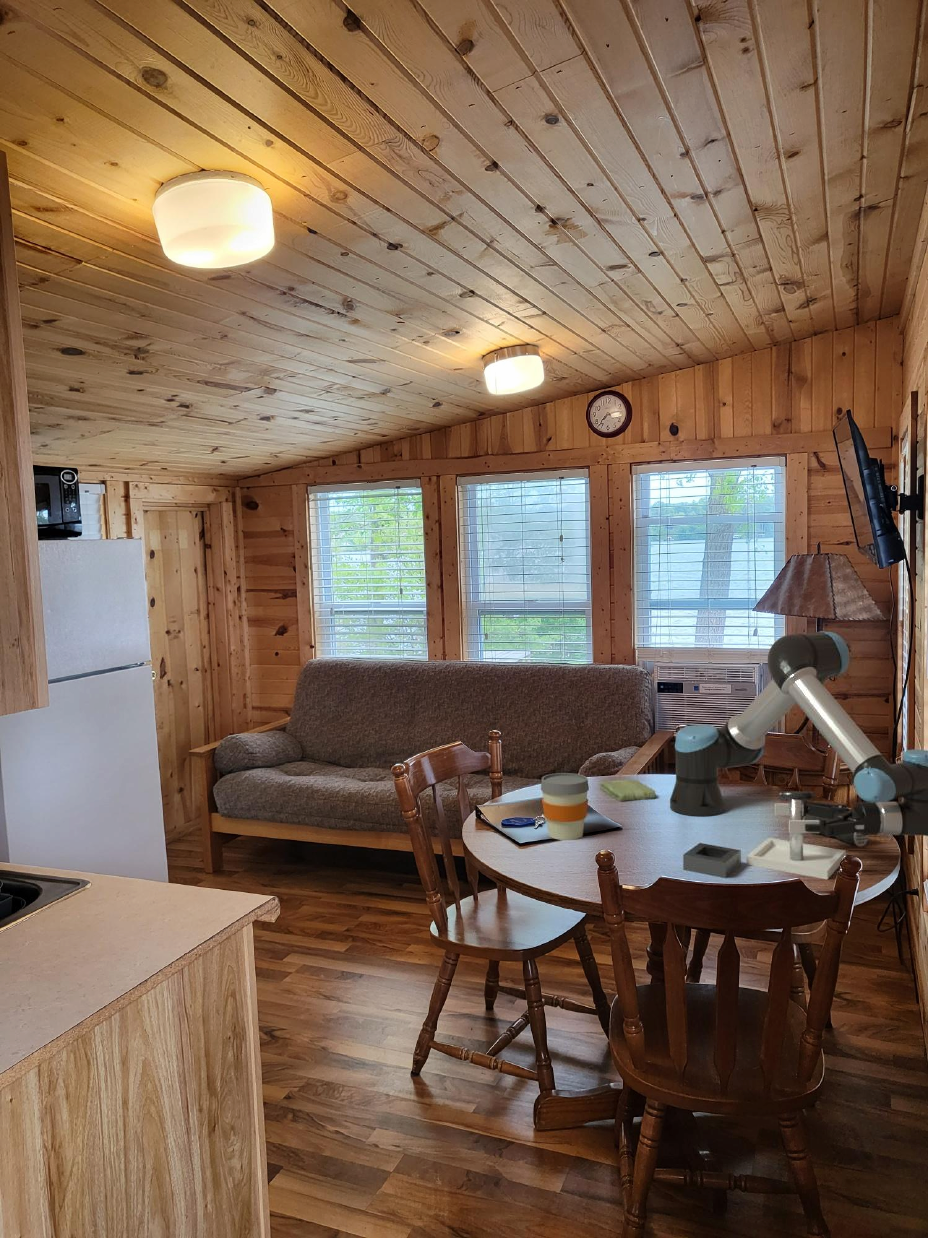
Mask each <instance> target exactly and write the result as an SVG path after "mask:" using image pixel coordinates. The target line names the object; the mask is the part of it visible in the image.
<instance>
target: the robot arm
mask: <svg viewBox="0 0 928 1238" xmlns="http://www.w3.org/2000/svg"><path fill="white" fill-rule="evenodd" d="M849 654H850V650H849V647H848V644H847V643H846V641H845V640H844V639H843V638H842V637H841V636H840V635H839V634H837V633H835V632H832V631H822V630H821V631H816V632H806V633H795V634H791V633H790V634H786V635H783V636H781V637H779V638H777V640H776V641H775V642H773V644H772V645H771V647H770V648H769V652H768V654H767V666H768V672H769V674H770V676H771V680H770V682H768V683H767V685H766V686H764V689H763V690H762V691H761V692H760V693H759V694H758V695H757V696H756V697H755V698H754V700H753V701H752V702H751V703H750V704H749V705H748V706H747V707H746V708H745V710H744V711H743V712H742V713H741V714H738V715H737V714H736V715H733V716H731V717H730V718H729V720H727V721H726V723H725V724H724V725H723V726H721V727H719V728H717V727H716V726H714V725H711V724H709V725H708V724H699V725H697V724H694V725H689V726H685V727H683V728H680V729H679V730H678V731H677V732H676V734H675V743H674V749H675V751H674V752H675V784H674V786H673V790H672V793H671V795H670V799H669V808H670V810H671V811H673V812H675V813H677V814H682V815H687V816H694V817H695V816H696V817H709V816H715V815H716V816H717V815H720V814H723V812H725V808H726V807H725V799H724V796H723V795H722V791H721V788H720V786H719V780H718V779H719V770H724V769H725V770H726V769H731V768H736V767H746V766H749V765H752V764H754V763H756V762H758V761H759V760H760V759H761V757H762V756H763V754H764V752H765V749H764V747H765V745H766V743H765V742H766V735H767V734H768V733H769V732H770V731H771V730H772V729H773V728H774V726H775V725H777V724H778V722H779V721H780V720H781V719H782V718H783V717H784V716H785V715H786V714H787V713H788V712H789V711H790V710H791V709H792V707H794V705H796V704H797V705H798V706H799V708H800V709H801V710H802V711H803V713H804V714H805V715H806V716H807V718H808V720H810V721H811V723H812V724H813V725H814V726H815V728H816V729H817V730H818V731H819V733H820V734H821V736H822V737H823V738H824V739H825V741H827V743H828V744H829V745H830V746H831V748H832V749H833V750H834V751H835V752H836V754H837V755H838V757H840V759H841V760H842V761H843V763H844V764H845V765H846V766H847V767H848V769H849V770H850V771H851V773H852V774H853V775H854V778H853V787H854V789H855V793H856V794H857V796H858V797H859V798H860V799H861V800H863V801H859V802H857V803H856V804H855V808H854V809H850V808H849V807H848V805H846V804H834V803H829V802H828V803H826V802H818V801H811V800H809V801H808V800H803V818H805V816H806V815H812V816H817V817H822V818H827V819H829V820H823V819H822V820H821V819H820V824H819V820H804V819H803V820H788V833H789V834H790V833H803V834H814V833H819V832H820V833H821V834H820V835H822V834H826V835H825V836H826V837H827V838H829V837H832V836H837V835H843V834H850V833H860V834H862V835H869V836H877V835H878V834H879V835H880V836H881V835H882V836H887V837H888V838H892V837H893V835H894V836H925V837H928V750H927V749H926V750H925V749H907V750H905V751H904V752H903V754H902V759H901V762H898V763H893V764H890V762H888V761H887V759H886V758H885V757H884V755H882V753H881V752H880V750H878V748H876V747H875V745H874V744H873V743H872V742H871V740H870V738H868V737H867V735H866V734H865V733H864V732H863V731H862V730H861V728H860V727H859V726H858V725H857V724H856V722H855V721H854V720H853V719H852V718H851V717H850V715H849V714H848V713H847V712H846V711H845V709H844V708H843V707H842V705H841V704H839V702H838V701H837V700H836V699H835V697H834V696H833V695H832V694H831V693H830V692H829V690H828V689H827V688H826V687H825V685H823V684H824V683H825V682H826V681H827V680H828V679H829V678H831V677H838V676H840V675H842V674H844V673H845V672H846V671H847V669H848V667H849V665H850V659H851V658H850V656H849ZM900 798H902V801H891V800H896V799H900ZM774 815H775V816H789V803H783V802H782V803H778V802H777V803H774Z"/></svg>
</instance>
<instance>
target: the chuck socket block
mask: <svg viewBox="0 0 928 1238" xmlns="http://www.w3.org/2000/svg"><path fill="white" fill-rule="evenodd" d="M682 857H683V858H682V862H683V863H682V865H683V866H682V867H683V868H682V869H683V870H685V871H687V872H688V871H689V872H694V873H698V874H699V873H700V874H705V875H707V876H708V875H709V876H713V877H714V876H715V877H719V878H725V879H726V878H727V877H728V876H730V875H731V874H732V873H733V872H735V871H736V870H737V869H738V868H740V867H741V865H742V850H741V849H738V848H737V849H736V848H731V847H727V846H719V845H714V844H709V843H703V842H699V843H698V844H696V845H695V846H693V847H692V848H691V849H689V850H687V851H686V852H685V853H684V854H682Z"/></svg>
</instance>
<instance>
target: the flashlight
mask: <svg viewBox="0 0 928 1238" xmlns="http://www.w3.org/2000/svg"><path fill="white" fill-rule="evenodd" d="M820 819H821V820H822V819H823V820H829V819H827V818H822V817H817V816H812V815H807V814H806V816H805V817H804V818H803V820H819V824H820ZM813 834H815V835H823V836H826V834H821V833H820V832H819V833H813ZM831 837H833V838H836V839H837V840H838V841H842V842H845V843H847V844H849V845H852V846H856V847H864V846H865V845H866V844H867V842H868V841H869V837H870V835H862V834H860V833H850V834H843V835H837V836H831Z"/></svg>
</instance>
